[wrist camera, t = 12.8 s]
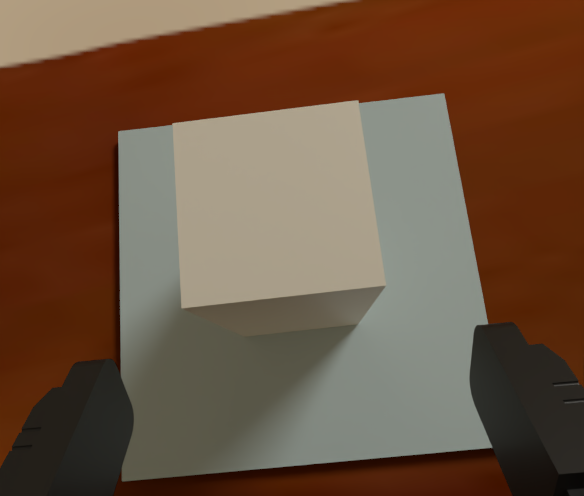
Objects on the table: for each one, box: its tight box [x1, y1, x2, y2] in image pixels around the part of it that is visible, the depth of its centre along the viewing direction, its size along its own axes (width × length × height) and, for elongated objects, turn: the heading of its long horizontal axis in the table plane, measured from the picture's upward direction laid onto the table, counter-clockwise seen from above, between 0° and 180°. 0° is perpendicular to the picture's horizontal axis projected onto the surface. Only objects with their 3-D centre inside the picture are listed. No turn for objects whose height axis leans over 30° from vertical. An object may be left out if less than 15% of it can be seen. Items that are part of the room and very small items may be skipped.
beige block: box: [172, 100, 386, 337], centre depth 18 cm, size 5×5×10 cm
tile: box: [118, 94, 492, 482], centre depth 23 cm, size 16×16×1 cm
